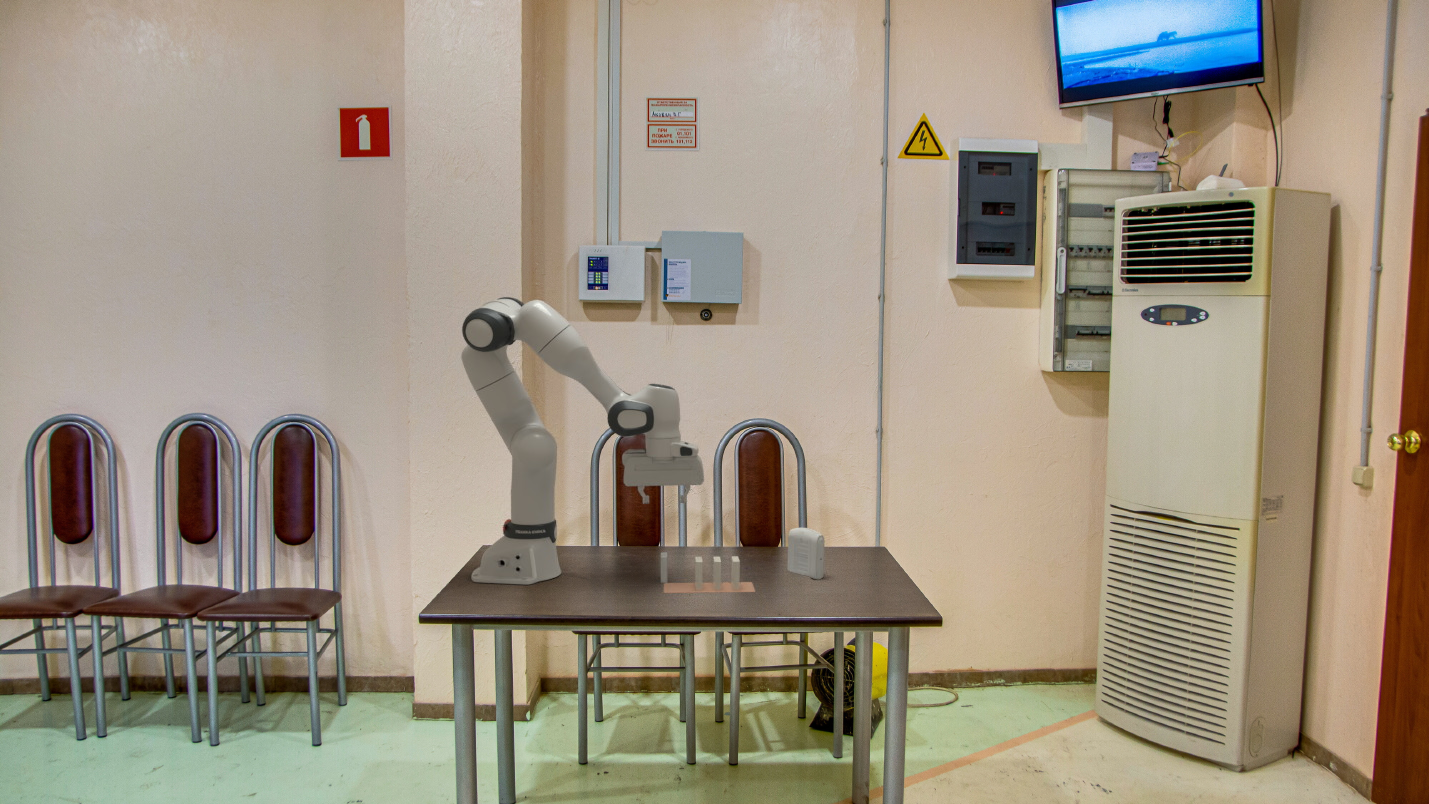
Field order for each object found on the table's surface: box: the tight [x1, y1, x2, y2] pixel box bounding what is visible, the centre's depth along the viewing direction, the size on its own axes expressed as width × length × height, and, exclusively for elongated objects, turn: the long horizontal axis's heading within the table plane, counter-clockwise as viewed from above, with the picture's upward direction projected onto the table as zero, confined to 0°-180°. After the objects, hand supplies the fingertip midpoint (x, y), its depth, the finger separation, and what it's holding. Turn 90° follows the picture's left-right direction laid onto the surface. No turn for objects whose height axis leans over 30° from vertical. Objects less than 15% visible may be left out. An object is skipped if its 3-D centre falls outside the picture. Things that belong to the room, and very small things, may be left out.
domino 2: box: [694, 556, 704, 591], centre depth 191 cm, size 2×5×7 cm, turn 4°
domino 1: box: [660, 551, 668, 584], centre depth 198 cm, size 2×5×7 cm, turn 4°
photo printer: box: [787, 527, 826, 580], centre depth 205 cm, size 10×4×12 cm, turn 47°
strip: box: [663, 581, 756, 594], centre depth 192 cm, size 22×8×1 cm, turn 93°
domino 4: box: [730, 555, 741, 590], centre depth 192 cm, size 2×5×7 cm, turn 3°
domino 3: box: [712, 556, 722, 590], centre depth 192 cm, size 2×5×7 cm, turn 4°
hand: (664, 502), depth 197 cm, fingers open, 8 cm apart
